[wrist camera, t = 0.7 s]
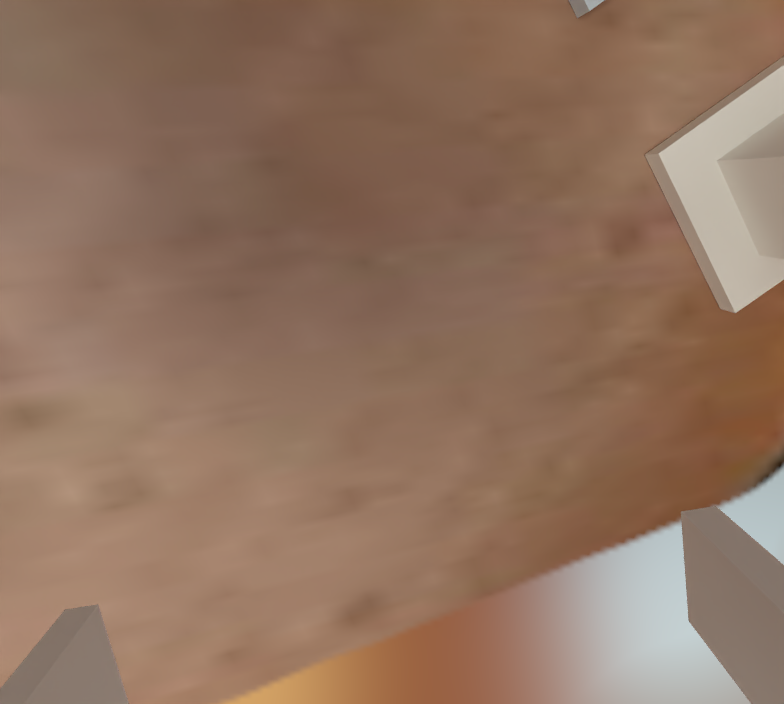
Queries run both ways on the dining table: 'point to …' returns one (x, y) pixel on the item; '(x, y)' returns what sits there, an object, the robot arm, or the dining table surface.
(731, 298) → the stand
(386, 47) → the dining table surface
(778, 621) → the robot arm
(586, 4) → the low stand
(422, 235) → the dining table surface
